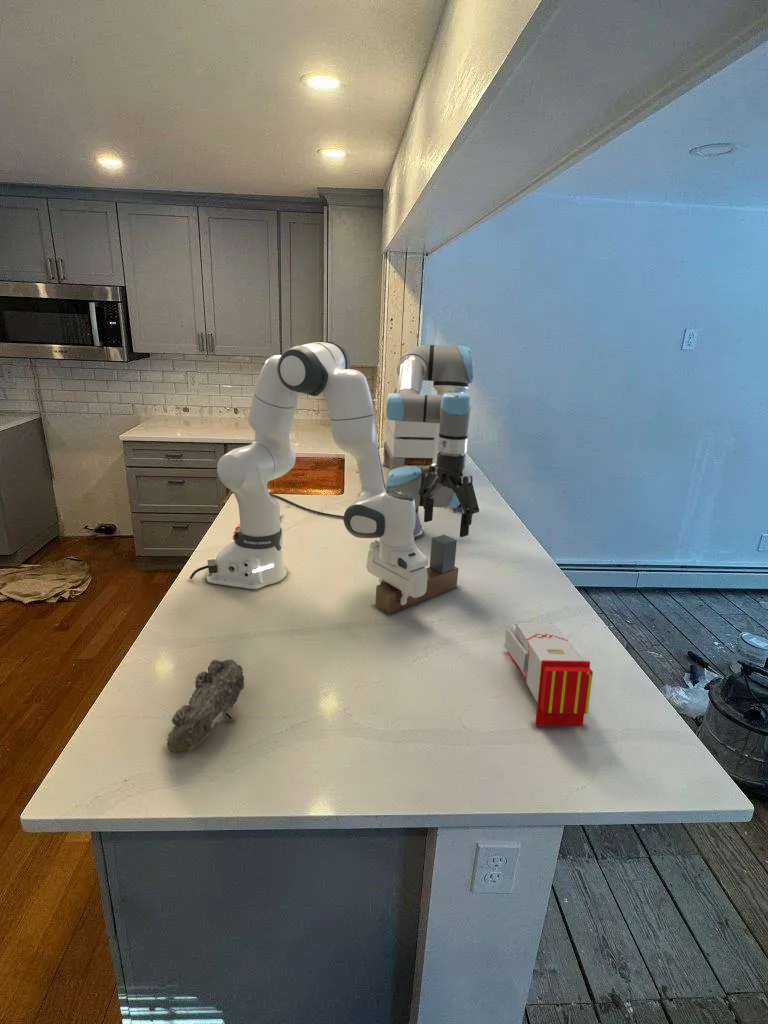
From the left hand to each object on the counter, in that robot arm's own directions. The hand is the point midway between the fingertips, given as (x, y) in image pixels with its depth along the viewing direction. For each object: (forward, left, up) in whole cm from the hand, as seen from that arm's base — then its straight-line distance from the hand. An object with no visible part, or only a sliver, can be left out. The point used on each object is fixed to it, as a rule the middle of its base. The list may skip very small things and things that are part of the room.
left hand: (393, 598), depth 151 cm
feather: (-42, +60, -2) cm, 74 cm away
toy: (+32, -31, -2) cm, 44 cm away
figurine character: (+25, +83, -2) cm, 87 cm away
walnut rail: (+7, +6, -2) cm, 9 cm away
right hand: (+13, +12, +16) cm, 24 cm away
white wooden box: (+12, +131, -2) cm, 132 cm away
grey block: (+13, +12, +4) cm, 18 cm away
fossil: (-34, -46, -2) cm, 58 cm away
